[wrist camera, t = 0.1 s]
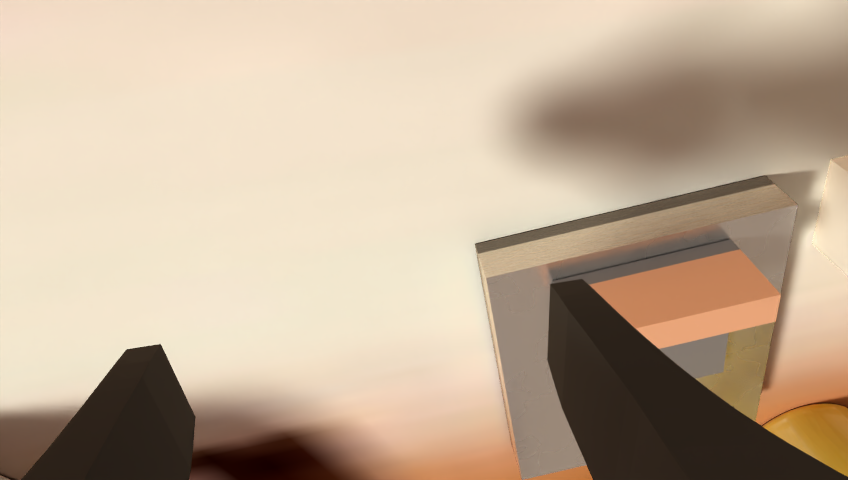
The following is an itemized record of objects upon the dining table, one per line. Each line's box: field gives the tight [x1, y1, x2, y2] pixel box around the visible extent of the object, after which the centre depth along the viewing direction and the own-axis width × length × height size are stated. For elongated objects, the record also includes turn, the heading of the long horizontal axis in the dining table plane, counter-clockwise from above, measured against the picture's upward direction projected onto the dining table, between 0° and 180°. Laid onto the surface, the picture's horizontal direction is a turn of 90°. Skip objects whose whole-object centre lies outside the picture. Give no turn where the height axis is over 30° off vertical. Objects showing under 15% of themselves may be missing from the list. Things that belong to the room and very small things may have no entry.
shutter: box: [553, 239, 781, 379], centre depth 23 cm, size 6×6×3 cm
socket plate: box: [475, 176, 798, 480], centre depth 26 cm, size 12×11×2 cm
